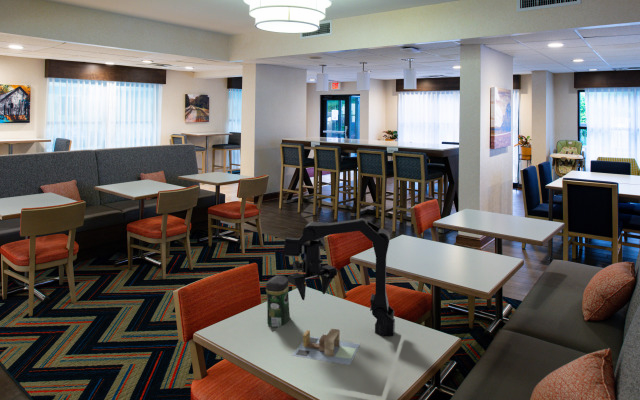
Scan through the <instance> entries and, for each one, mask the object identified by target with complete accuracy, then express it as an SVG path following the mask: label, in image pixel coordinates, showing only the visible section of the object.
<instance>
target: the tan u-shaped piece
mask: <svg viewBox="0 0 640 400" xmlns="http://www.w3.org/2000/svg"><path fill="white" fill-rule="evenodd" d="M326 336H327V334H322V335H321V336H320V337H319V338H320V339H319V344H317V343H310V337H311V330H309V329H307V330H305V332H304V333H303V334H302V341H303V346H304V347H309V348H315V349H319V351H324V352H325V344H324V339H325V337H326Z"/></svg>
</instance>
